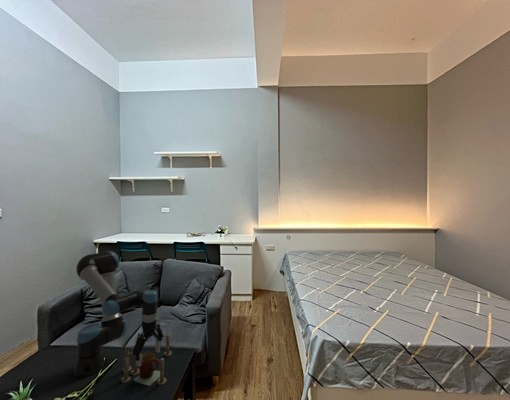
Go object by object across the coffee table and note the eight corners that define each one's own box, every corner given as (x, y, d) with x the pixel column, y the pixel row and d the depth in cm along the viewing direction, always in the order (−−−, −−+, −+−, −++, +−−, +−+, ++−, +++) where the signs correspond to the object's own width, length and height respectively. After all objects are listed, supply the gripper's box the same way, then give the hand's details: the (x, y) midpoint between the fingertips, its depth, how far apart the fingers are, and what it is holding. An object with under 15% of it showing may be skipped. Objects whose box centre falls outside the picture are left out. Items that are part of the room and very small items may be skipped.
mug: (134, 379, 143) (134, 360, 143) (144, 369, 152) (144, 351, 152) (154, 382, 141) (154, 363, 141) (163, 372, 150) (163, 353, 150)
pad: (133, 380, 143) (133, 379, 143) (149, 368, 153) (149, 367, 153) (149, 386, 139) (149, 385, 139) (164, 373, 149) (164, 372, 149)
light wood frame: (110, 377, 145) (110, 354, 145) (127, 366, 156) (127, 344, 156) (125, 383, 141) (125, 359, 141) (142, 371, 151) (142, 348, 151)
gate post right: (155, 383, 141) (155, 360, 141) (161, 377, 146) (161, 355, 146) (162, 385, 139) (162, 362, 139) (168, 380, 144) (168, 357, 144)
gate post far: (162, 355, 167) (162, 336, 167) (167, 351, 171) (167, 332, 171) (168, 357, 165) (168, 337, 165) (173, 352, 170) (173, 334, 170)
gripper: (136, 331, 133) (135, 374, 134) (170, 312, 156) (169, 348, 156) (125, 328, 136) (124, 369, 136) (160, 310, 159) (159, 345, 159)
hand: (148, 358), depth 146 cm, fingers open, 13 cm apart
